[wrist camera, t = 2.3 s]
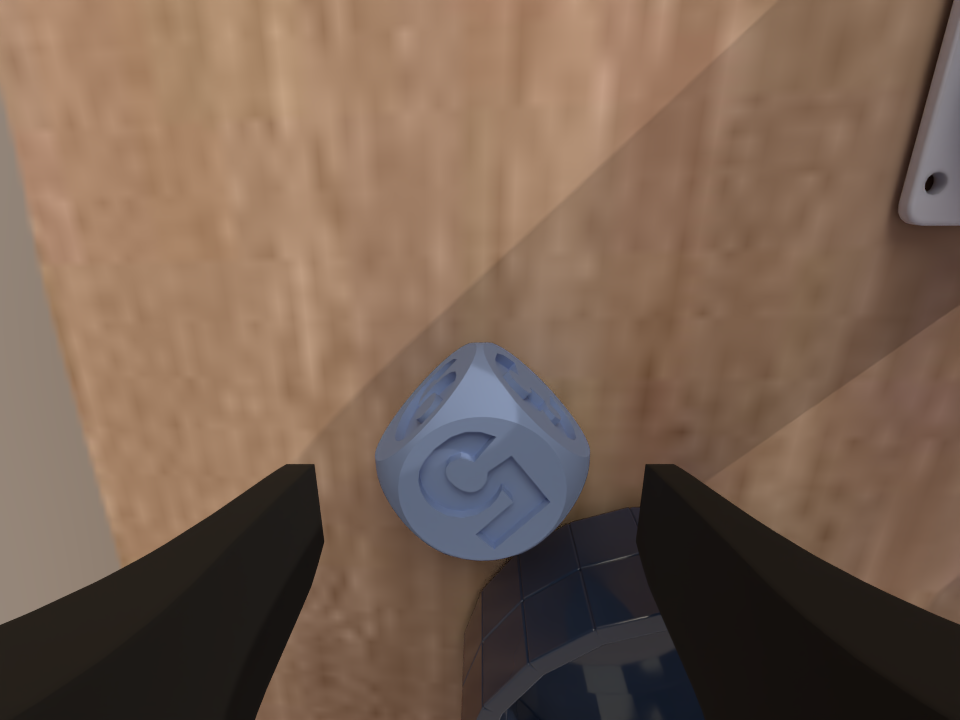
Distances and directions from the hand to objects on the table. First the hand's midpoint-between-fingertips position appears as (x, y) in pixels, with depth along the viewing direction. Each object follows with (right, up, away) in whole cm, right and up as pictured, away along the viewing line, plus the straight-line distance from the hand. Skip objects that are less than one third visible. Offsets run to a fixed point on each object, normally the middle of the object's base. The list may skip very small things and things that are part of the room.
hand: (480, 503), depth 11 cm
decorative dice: (0, +2, +4) cm, 5 cm away
